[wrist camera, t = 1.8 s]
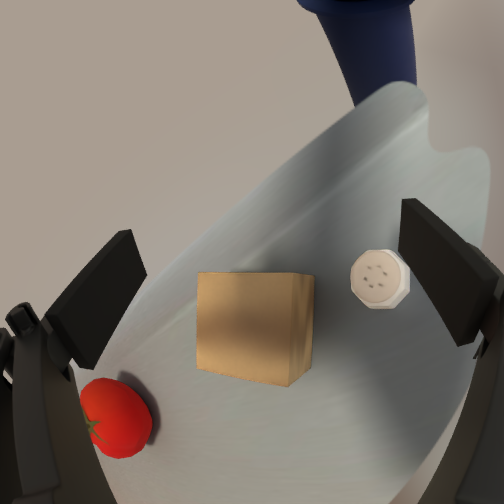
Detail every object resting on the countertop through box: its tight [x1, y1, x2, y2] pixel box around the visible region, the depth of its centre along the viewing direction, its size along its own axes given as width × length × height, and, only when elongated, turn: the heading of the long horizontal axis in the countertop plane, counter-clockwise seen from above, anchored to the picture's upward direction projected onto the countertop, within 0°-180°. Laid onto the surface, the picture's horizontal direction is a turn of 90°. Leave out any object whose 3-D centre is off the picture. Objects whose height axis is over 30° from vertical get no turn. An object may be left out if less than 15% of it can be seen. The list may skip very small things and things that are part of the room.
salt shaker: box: [350, 249, 410, 309], centre depth 19 cm, size 5×5×11 cm
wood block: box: [197, 272, 315, 387], centre depth 26 cm, size 9×9×6 cm
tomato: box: [80, 378, 153, 459], centre depth 32 cm, size 11×13×10 cm
